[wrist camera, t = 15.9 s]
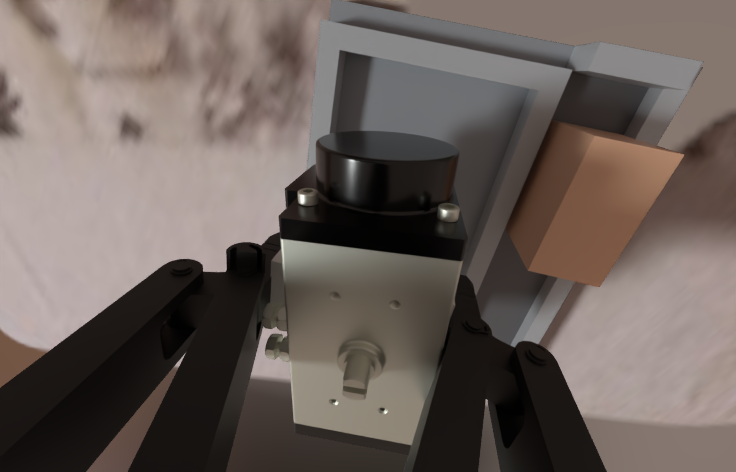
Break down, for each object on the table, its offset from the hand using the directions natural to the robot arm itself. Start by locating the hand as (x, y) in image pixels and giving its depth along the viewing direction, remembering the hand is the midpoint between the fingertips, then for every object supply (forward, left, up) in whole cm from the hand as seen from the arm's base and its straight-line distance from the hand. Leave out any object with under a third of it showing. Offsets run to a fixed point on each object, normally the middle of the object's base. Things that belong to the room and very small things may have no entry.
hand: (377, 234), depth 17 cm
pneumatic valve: (0, 0, -3) cm, 3 cm away
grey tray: (0, +3, -4) cm, 5 cm away
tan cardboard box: (-4, +9, -2) cm, 10 cm away
